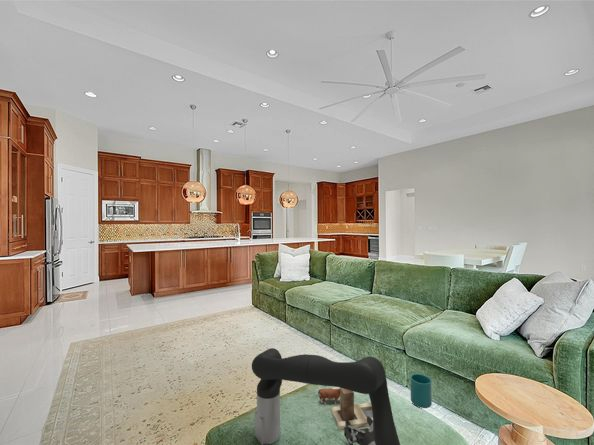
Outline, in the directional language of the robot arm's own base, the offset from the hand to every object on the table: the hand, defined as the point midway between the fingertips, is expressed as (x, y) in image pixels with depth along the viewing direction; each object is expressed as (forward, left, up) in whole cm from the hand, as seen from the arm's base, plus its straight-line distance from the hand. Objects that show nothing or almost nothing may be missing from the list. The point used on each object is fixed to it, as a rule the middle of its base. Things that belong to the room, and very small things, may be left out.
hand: (357, 419), depth 108 cm
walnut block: (+5, +10, -7) cm, 13 cm away
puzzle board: (+10, +8, -8) cm, 15 cm away
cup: (+43, 0, -8) cm, 43 cm away
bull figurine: (+7, +22, -8) cm, 24 cm away
